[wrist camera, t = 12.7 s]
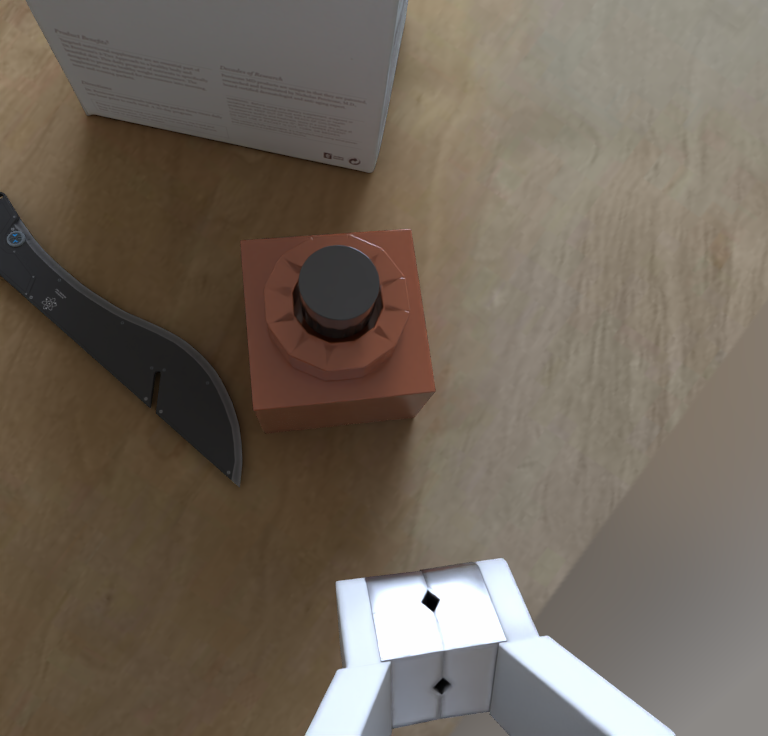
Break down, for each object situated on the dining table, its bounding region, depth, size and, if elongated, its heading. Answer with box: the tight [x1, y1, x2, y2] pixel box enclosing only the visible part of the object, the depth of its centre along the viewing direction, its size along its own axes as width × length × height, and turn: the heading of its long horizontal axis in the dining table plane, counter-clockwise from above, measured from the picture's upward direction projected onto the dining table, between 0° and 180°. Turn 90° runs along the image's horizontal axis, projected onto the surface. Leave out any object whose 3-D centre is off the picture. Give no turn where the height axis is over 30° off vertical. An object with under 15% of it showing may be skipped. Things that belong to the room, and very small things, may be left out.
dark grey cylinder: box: [298, 245, 380, 338], centre depth 26 cm, size 3×3×2 cm
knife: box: [0, 192, 242, 487], centre depth 33 cm, size 32×4×1 cm, turn 50°
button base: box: [240, 229, 436, 434], centre depth 30 cm, size 8×8×8 cm
